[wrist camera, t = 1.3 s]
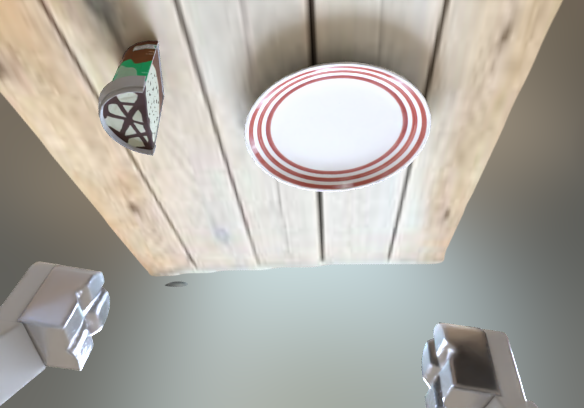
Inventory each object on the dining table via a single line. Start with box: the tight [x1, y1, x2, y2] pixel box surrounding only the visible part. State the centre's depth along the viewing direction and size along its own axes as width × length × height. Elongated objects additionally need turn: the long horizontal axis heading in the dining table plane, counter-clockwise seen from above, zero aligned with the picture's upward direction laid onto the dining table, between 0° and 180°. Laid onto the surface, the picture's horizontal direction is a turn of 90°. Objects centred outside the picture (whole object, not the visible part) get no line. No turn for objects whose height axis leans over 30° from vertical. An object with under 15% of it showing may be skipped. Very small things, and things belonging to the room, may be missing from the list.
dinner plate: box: [244, 62, 431, 192], centre depth 68 cm, size 27×27×3 cm
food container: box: [99, 41, 164, 155], centre depth 57 cm, size 12×6×10 cm, turn 171°
